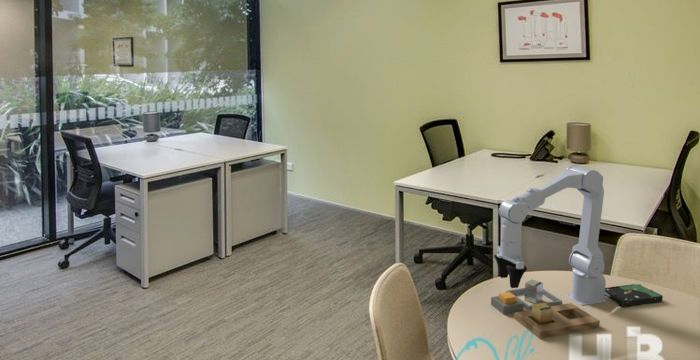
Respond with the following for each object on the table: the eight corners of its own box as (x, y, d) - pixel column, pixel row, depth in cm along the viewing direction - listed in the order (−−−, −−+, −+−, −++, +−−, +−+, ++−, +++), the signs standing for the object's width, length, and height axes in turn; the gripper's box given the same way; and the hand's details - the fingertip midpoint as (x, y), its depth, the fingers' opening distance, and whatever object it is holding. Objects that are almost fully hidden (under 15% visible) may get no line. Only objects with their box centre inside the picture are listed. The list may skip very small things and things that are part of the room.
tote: (537, 291, 171) (538, 285, 171) (561, 306, 160) (562, 300, 159) (505, 296, 168) (506, 290, 167) (528, 312, 156) (528, 306, 156)
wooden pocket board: (570, 310, 157) (571, 302, 157) (599, 328, 146) (599, 320, 145) (514, 320, 152) (514, 312, 151) (539, 340, 141) (539, 331, 140)
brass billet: (542, 321, 150) (543, 301, 149) (551, 327, 146) (552, 307, 145) (531, 323, 149) (532, 303, 148) (539, 329, 145) (540, 309, 144)
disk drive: (623, 309, 158) (662, 303, 161) (623, 301, 157) (663, 295, 161) (599, 296, 168) (637, 290, 171) (600, 288, 167) (638, 282, 171)
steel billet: (530, 296, 166) (531, 278, 165) (542, 300, 164) (543, 282, 162) (524, 300, 164) (525, 282, 163) (535, 304, 161) (536, 286, 160)
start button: (508, 300, 161) (509, 292, 160) (515, 305, 157) (515, 296, 157) (498, 302, 160) (499, 293, 159) (505, 307, 156) (505, 298, 156)
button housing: (510, 302, 163) (510, 294, 163) (523, 312, 157) (523, 303, 156) (490, 305, 161) (491, 297, 161) (503, 315, 155) (503, 306, 154)
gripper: (488, 233, 159) (487, 274, 162) (508, 249, 145) (506, 293, 148) (510, 232, 160) (508, 272, 162) (531, 247, 145) (529, 291, 148)
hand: (508, 282), depth 155 cm, fingers open, 7 cm apart
